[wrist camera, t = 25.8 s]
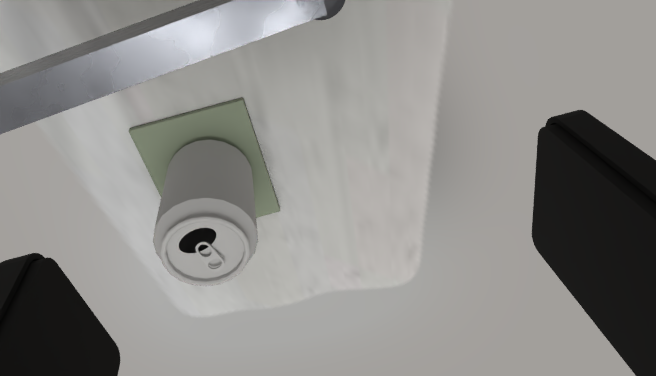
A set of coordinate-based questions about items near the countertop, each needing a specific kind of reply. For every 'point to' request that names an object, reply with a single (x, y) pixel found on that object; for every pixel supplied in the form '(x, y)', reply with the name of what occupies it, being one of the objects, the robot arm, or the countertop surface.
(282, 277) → the countertop surface
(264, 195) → the mat
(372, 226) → the countertop surface
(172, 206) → the can
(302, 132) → the countertop surface
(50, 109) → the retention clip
